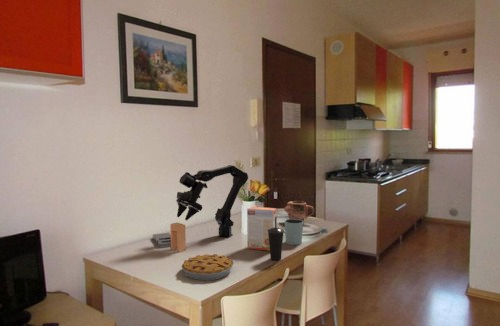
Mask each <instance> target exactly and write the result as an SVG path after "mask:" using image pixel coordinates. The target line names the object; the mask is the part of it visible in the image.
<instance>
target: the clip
mask: <svg viewBox="0 0 500 326" xmlns="http://www.w3.org/2000/svg"><path fill="white" fill-rule="evenodd" d="M169 226H170V229H169V230H170V235H171V247H170V249H171V250H172V251H173V250H177V252H179V253H180V252H184V251H187V250H186V249H187V248H186V247H187V246H186V244H187V243H186V241H187V239H186V237H187V236H186V224H183V223H180V222H173V223H170V225H169Z"/></svg>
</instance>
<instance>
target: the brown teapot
mask: <svg viewBox="0 0 500 326" xmlns="http://www.w3.org/2000/svg"><path fill="white" fill-rule="evenodd" d="M310 209H311V213H310V214H308V213H309V212H308V210H310ZM283 210H284V212H285V213H287V215H288V219H300V220H303V221H304V222H305V219H308V218H309V217H311V216H312V215H314V213H315V208H314V207H313V206H312V205H308V204H307V203H306V202H305V201H302V200H294V201H288V202H287V204H286V206H285V207H284V209H283Z"/></svg>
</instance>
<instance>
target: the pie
mask: <svg viewBox="0 0 500 326" xmlns="http://www.w3.org/2000/svg"><path fill="white" fill-rule="evenodd" d="M234 264H235V263H234V262H233V260H232V259H231V257H229V256H227V257H226V255H222V254H221V255H218V254H216V253H214V254H203V255H200V254H199V255H195V256H193V257H188V259H184V261H183V263H182V264H181V269H182V271H183V273H184V274H185V276H186V275H187V276H186V277H188V276H189V277H188V278H190V279H195V280H200V281H212V280H214V281H215V280H218V279H221V278H225V276H227V275H229V273H230V271H231V270H232V268H233V267H234Z"/></svg>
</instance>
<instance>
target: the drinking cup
mask: <svg viewBox="0 0 500 326" xmlns="http://www.w3.org/2000/svg"><path fill="white" fill-rule="evenodd" d="M277 221H278V219H277V216H276V217H275V227H274V228H271V229H268V236H269V246H270V251H269V256H270V260H271V261H273V262H279V261H281V260H282V254H283V253H282V252H283V243H284V242H283V241H284V233H285V229H282V228H280V227H277V225H278V224H277V223H278V222H277Z"/></svg>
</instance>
